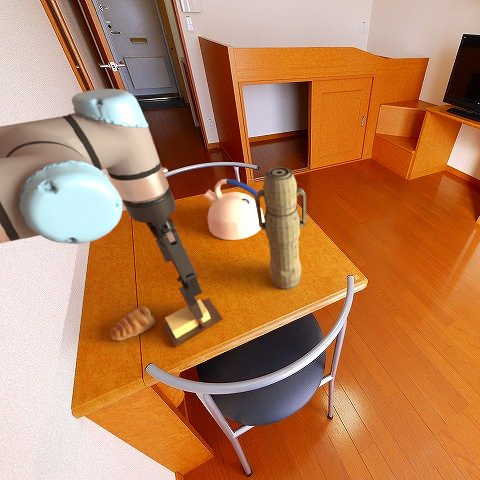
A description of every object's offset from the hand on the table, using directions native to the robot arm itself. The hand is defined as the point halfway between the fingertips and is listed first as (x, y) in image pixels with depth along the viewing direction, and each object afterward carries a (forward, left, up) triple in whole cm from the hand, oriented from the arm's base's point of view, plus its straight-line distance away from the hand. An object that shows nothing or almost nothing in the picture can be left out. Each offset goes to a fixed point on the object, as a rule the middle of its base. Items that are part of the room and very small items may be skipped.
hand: (182, 276), depth 61 cm
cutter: (-1, 0, -16) cm, 16 cm away
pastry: (-13, +8, -17) cm, 23 cm away
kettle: (+27, +31, -17) cm, 45 cm away
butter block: (-4, 0, -15) cm, 16 cm away
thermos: (+25, -3, -17) cm, 30 cm away
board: (-2, 0, -16) cm, 17 cm away
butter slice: (+1, 0, -15) cm, 16 cm away
